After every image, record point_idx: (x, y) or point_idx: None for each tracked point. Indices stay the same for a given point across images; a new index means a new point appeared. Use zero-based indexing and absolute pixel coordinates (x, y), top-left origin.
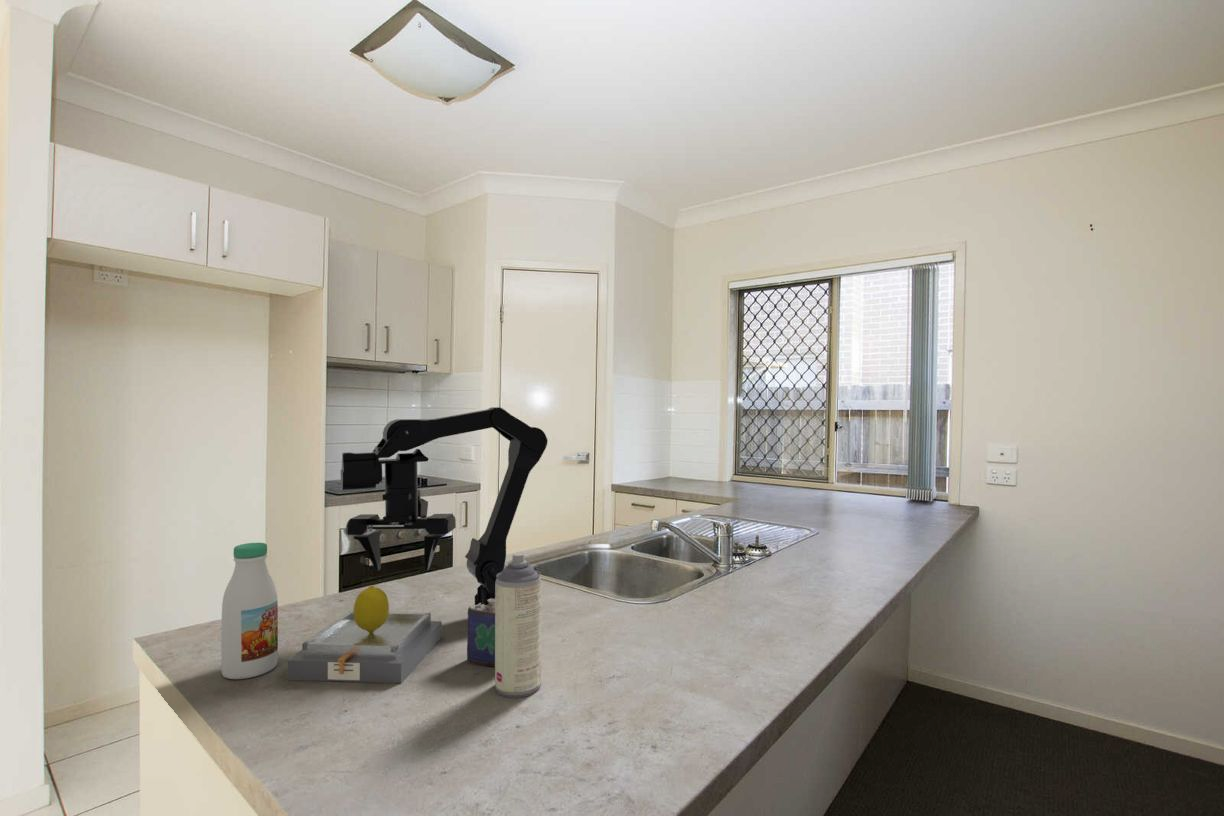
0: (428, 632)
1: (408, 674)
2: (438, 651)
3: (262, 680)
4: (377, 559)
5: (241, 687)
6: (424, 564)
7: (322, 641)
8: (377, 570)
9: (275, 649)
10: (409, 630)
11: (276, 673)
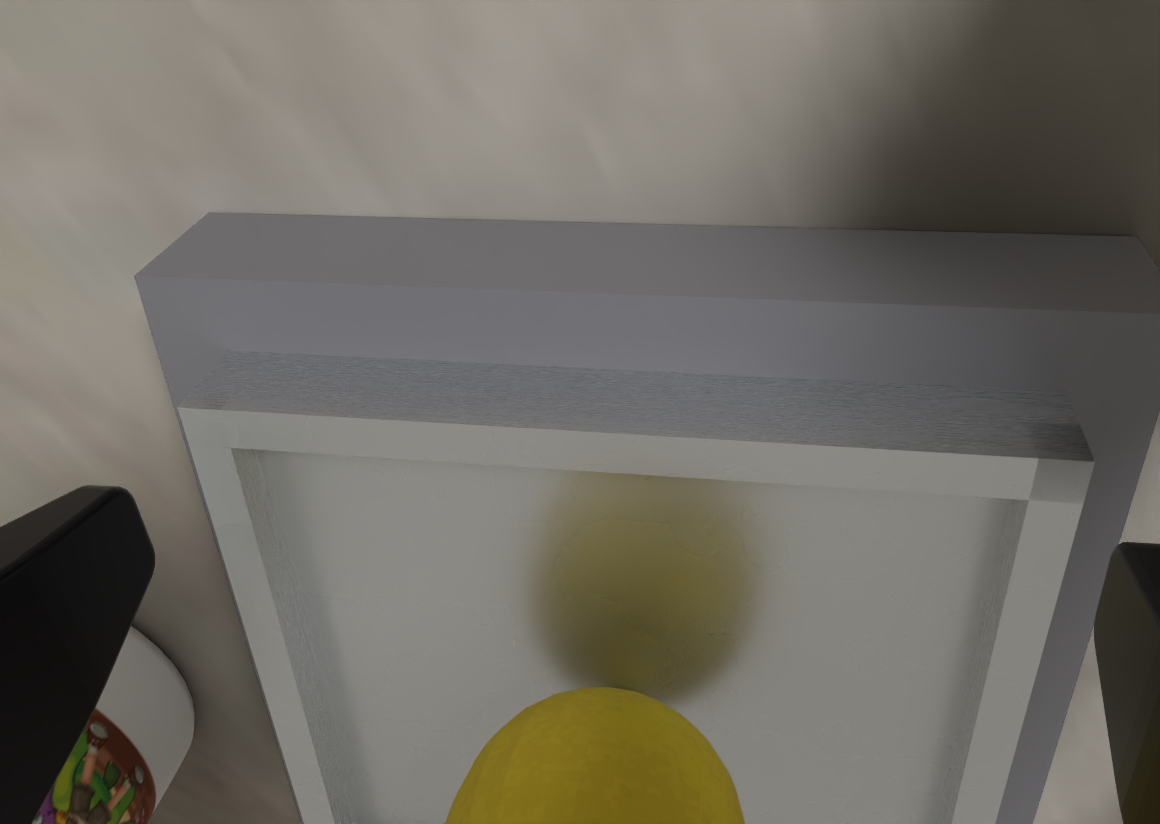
0: (1083, 575)
1: None
2: (1145, 501)
3: (240, 766)
4: (21, 726)
5: (208, 808)
6: (1121, 792)
7: (367, 785)
8: (144, 566)
9: (137, 763)
10: (971, 810)
11: (242, 714)
